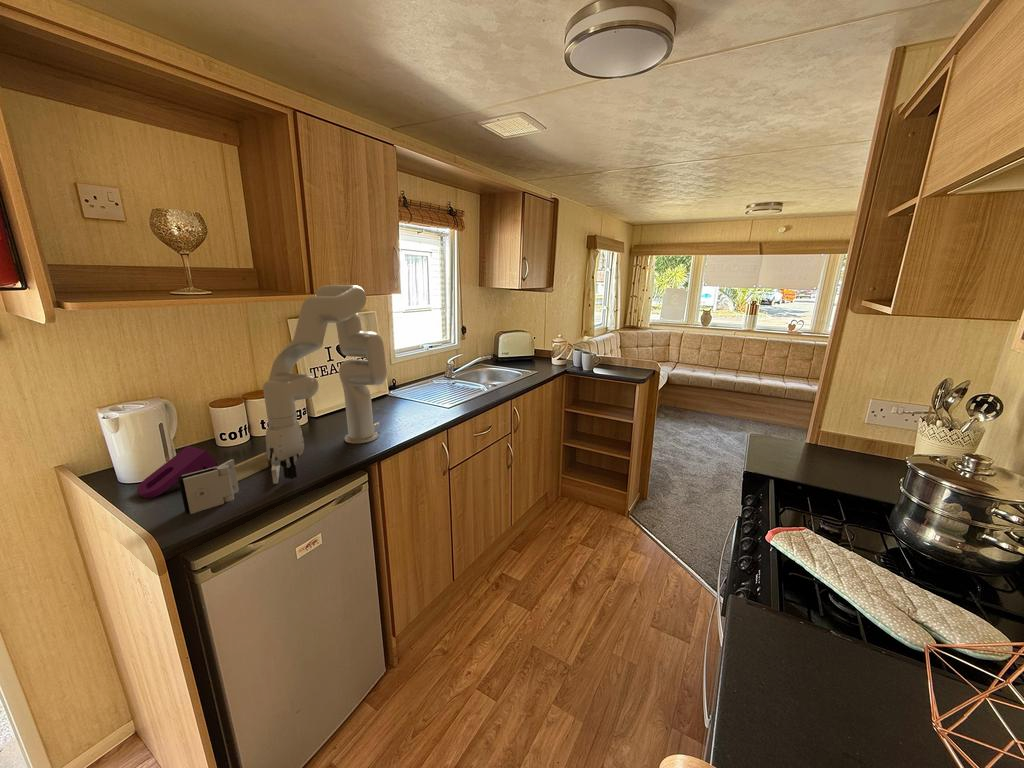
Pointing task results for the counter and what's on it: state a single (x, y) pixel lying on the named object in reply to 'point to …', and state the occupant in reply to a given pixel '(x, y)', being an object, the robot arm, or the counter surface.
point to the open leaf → (275, 473)
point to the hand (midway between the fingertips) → (290, 477)
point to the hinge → (208, 487)
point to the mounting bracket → (175, 471)
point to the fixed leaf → (252, 466)
